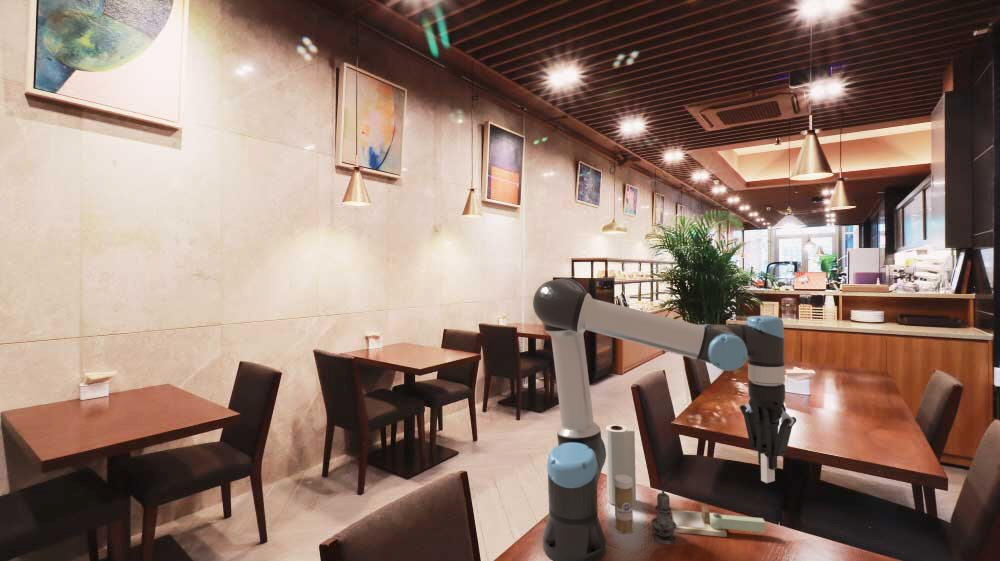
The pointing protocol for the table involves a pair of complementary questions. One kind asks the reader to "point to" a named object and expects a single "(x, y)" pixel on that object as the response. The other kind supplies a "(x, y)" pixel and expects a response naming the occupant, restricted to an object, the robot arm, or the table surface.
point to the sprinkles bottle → (623, 503)
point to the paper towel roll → (620, 458)
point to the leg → (737, 523)
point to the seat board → (695, 522)
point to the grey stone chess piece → (663, 521)
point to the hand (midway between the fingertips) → (767, 480)
